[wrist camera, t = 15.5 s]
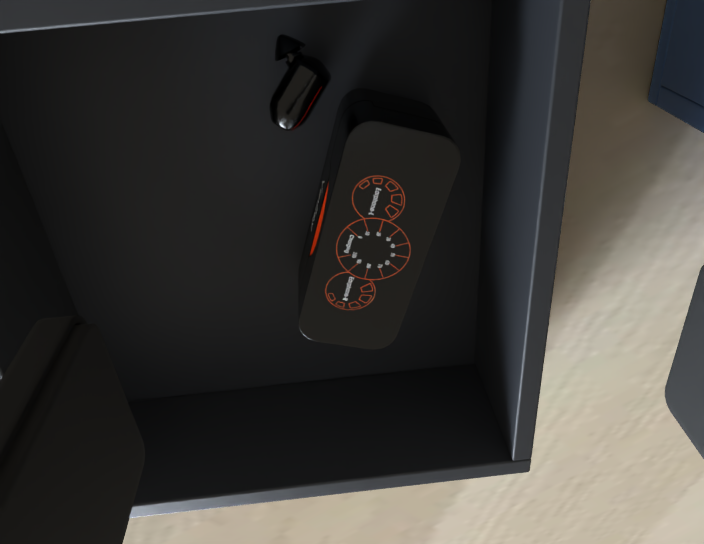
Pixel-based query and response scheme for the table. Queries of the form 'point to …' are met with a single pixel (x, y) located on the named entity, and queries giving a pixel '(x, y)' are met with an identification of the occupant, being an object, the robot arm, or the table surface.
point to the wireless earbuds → (365, 203)
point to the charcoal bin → (284, 232)
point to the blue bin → (681, 63)
